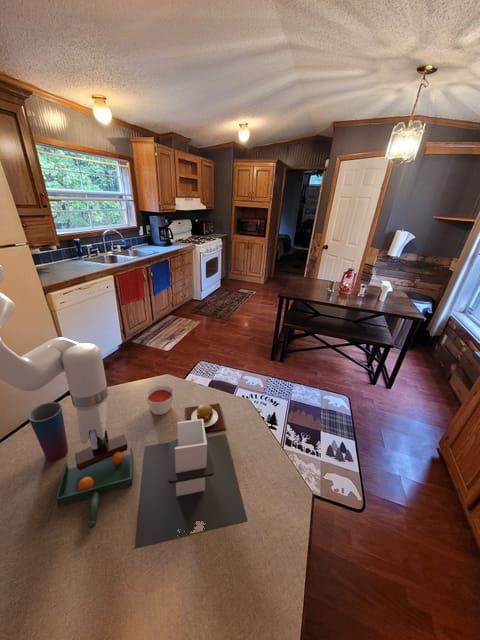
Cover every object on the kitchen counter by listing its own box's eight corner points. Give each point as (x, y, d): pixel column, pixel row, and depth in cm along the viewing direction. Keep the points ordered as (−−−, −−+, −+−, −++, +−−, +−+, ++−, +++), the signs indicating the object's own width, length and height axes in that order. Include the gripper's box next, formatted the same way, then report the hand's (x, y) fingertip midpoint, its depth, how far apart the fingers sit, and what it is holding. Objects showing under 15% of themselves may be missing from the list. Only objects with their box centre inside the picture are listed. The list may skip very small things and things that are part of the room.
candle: (142, 407, 88) (140, 393, 85) (164, 395, 94) (163, 381, 92) (157, 421, 83) (156, 406, 80) (179, 407, 89) (179, 393, 87)
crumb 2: (108, 466, 66) (109, 452, 67) (114, 464, 69) (115, 451, 70) (120, 465, 66) (121, 451, 67) (125, 463, 69) (126, 450, 70)
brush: (76, 459, 67) (70, 436, 64) (124, 439, 74) (121, 417, 70) (78, 471, 64) (71, 447, 61) (128, 450, 71) (124, 427, 67)
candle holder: (144, 446, 74) (140, 402, 68) (225, 434, 80) (229, 392, 74) (134, 548, 52) (126, 497, 46) (247, 520, 58) (254, 472, 52)
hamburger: (218, 404, 92) (219, 392, 90) (225, 430, 82) (226, 417, 80) (185, 408, 89) (185, 396, 87) (188, 435, 79) (188, 422, 76)
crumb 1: (74, 480, 60) (77, 489, 61) (79, 488, 58) (82, 498, 60) (88, 471, 63) (91, 480, 64) (94, 478, 61) (97, 488, 62)
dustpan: (67, 470, 66) (65, 463, 65) (132, 454, 71) (131, 447, 70) (48, 546, 51) (45, 538, 50) (132, 518, 57) (131, 511, 56)
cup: (37, 466, 66) (22, 423, 60) (47, 445, 72) (35, 403, 66) (67, 461, 68) (55, 419, 62) (75, 441, 74) (65, 400, 68)
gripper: (77, 376, 66) (89, 429, 73) (64, 421, 52) (79, 480, 60) (109, 372, 69) (117, 423, 76) (104, 413, 55) (115, 471, 62)
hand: (101, 447), depth 68 cm, fingers closed on brush, 2 cm apart
